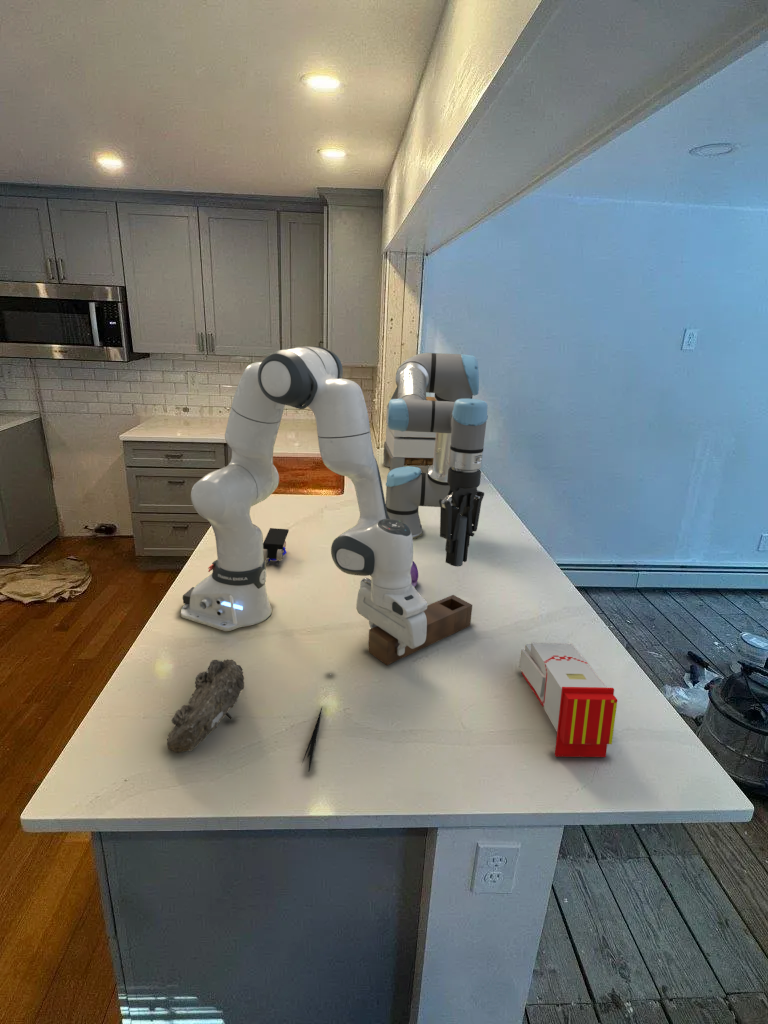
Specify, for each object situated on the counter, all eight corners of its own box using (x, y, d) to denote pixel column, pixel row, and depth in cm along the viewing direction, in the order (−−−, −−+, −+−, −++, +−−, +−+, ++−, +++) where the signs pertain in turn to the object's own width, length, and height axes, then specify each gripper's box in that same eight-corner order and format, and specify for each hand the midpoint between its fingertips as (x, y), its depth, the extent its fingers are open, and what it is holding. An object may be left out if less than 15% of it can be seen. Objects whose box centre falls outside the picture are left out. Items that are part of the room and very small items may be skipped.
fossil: (192, 660, 117) (244, 628, 112) (224, 691, 120) (276, 661, 115) (142, 746, 98) (202, 712, 93) (182, 779, 101) (242, 748, 96)
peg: (446, 563, 138) (450, 516, 134) (455, 559, 140) (459, 514, 136) (456, 567, 135) (460, 520, 131) (465, 564, 137) (470, 518, 133)
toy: (567, 625, 127) (627, 695, 97) (561, 680, 130) (618, 764, 100) (513, 624, 126) (557, 694, 97) (508, 679, 129) (550, 763, 100)
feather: (331, 679, 122) (336, 673, 122) (307, 777, 96) (313, 769, 95) (324, 675, 122) (329, 669, 121) (298, 772, 95) (304, 764, 95)
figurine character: (283, 572, 170) (290, 547, 184) (282, 550, 167) (289, 526, 180) (260, 571, 170) (269, 546, 183) (259, 549, 167) (268, 526, 180)
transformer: (382, 463, 289) (386, 382, 275) (445, 464, 293) (451, 384, 279) (390, 482, 257) (394, 392, 243) (460, 483, 261) (468, 394, 247)
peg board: (386, 665, 126) (388, 642, 124) (368, 652, 131) (369, 629, 129) (470, 625, 144) (472, 604, 141) (451, 615, 148) (453, 594, 146)
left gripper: (350, 578, 130) (349, 630, 135) (411, 615, 116) (407, 672, 120) (371, 571, 134) (369, 622, 139) (433, 605, 120) (428, 661, 124)
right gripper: (452, 477, 122) (444, 576, 130) (500, 467, 132) (489, 559, 140) (428, 469, 127) (421, 564, 135) (475, 460, 137) (466, 549, 145)
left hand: (388, 645), depth 130 cm, fingers closed on peg board, 6 cm apart
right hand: (456, 561), depth 137 cm, fingers closed on peg, 3 cm apart
